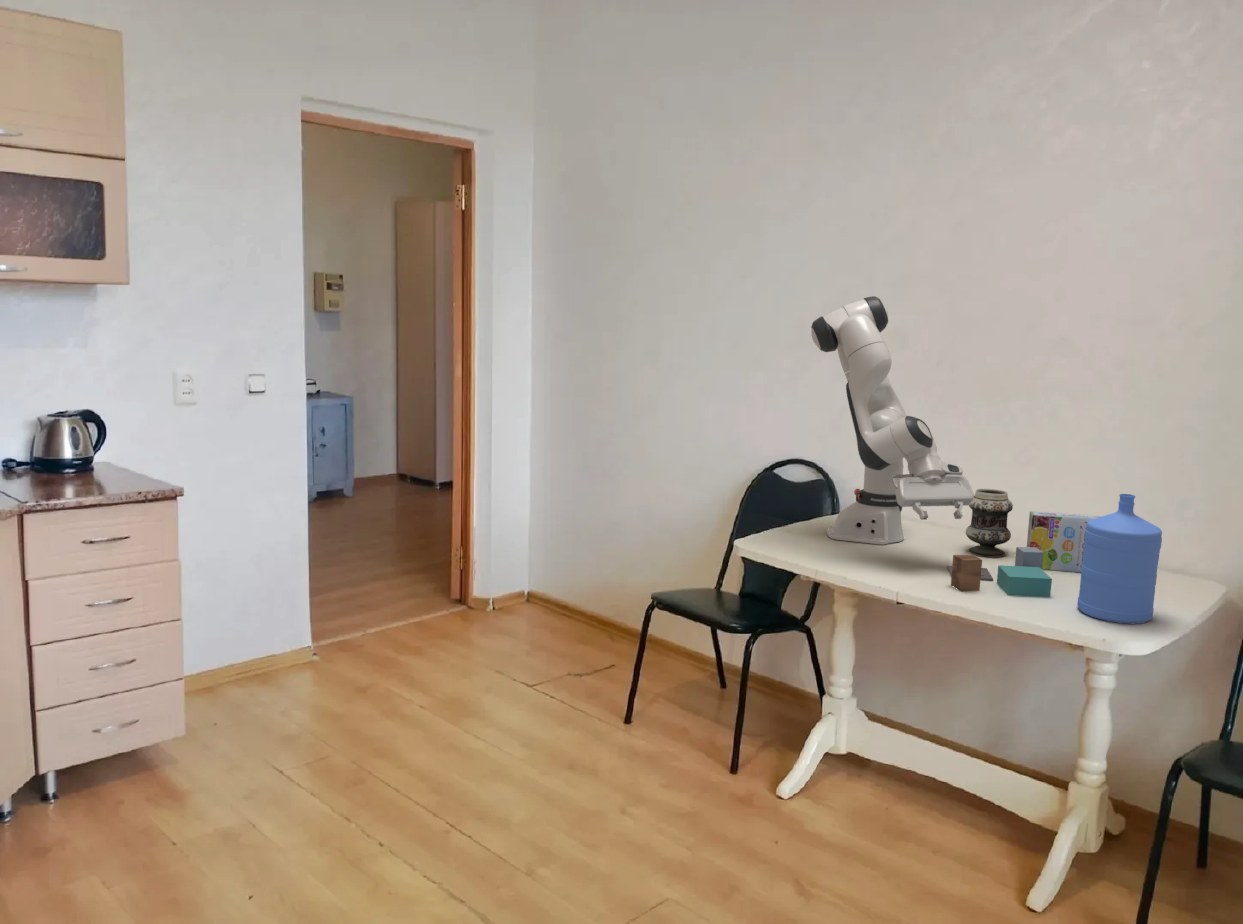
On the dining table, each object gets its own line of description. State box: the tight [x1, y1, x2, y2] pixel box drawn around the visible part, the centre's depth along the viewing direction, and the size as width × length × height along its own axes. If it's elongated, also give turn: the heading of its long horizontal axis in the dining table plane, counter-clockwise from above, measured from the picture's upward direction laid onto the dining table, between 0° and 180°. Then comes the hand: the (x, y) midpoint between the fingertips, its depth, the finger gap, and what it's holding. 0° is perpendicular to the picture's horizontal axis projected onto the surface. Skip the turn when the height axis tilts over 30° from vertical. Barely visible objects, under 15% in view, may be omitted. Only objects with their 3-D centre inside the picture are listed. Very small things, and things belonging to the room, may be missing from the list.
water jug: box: [1076, 493, 1163, 624], centre depth 220 cm, size 16×16×28 cm
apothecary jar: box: [965, 488, 1014, 558], centre depth 272 cm, size 12×12×18 cm
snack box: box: [1026, 510, 1103, 574], centre depth 257 cm, size 21×6×15 cm, turn 74°
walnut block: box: [950, 553, 983, 592], centre depth 239 cm, size 5×5×8 cm
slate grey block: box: [1014, 546, 1044, 570], centre depth 247 cm, size 5×5×8 cm
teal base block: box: [996, 565, 1053, 598], centre depth 239 cm, size 10×10×5 cm
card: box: [947, 565, 994, 582], centre depth 252 cm, size 10×10×1 cm
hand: (941, 518), depth 249 cm, fingers open, 8 cm apart
